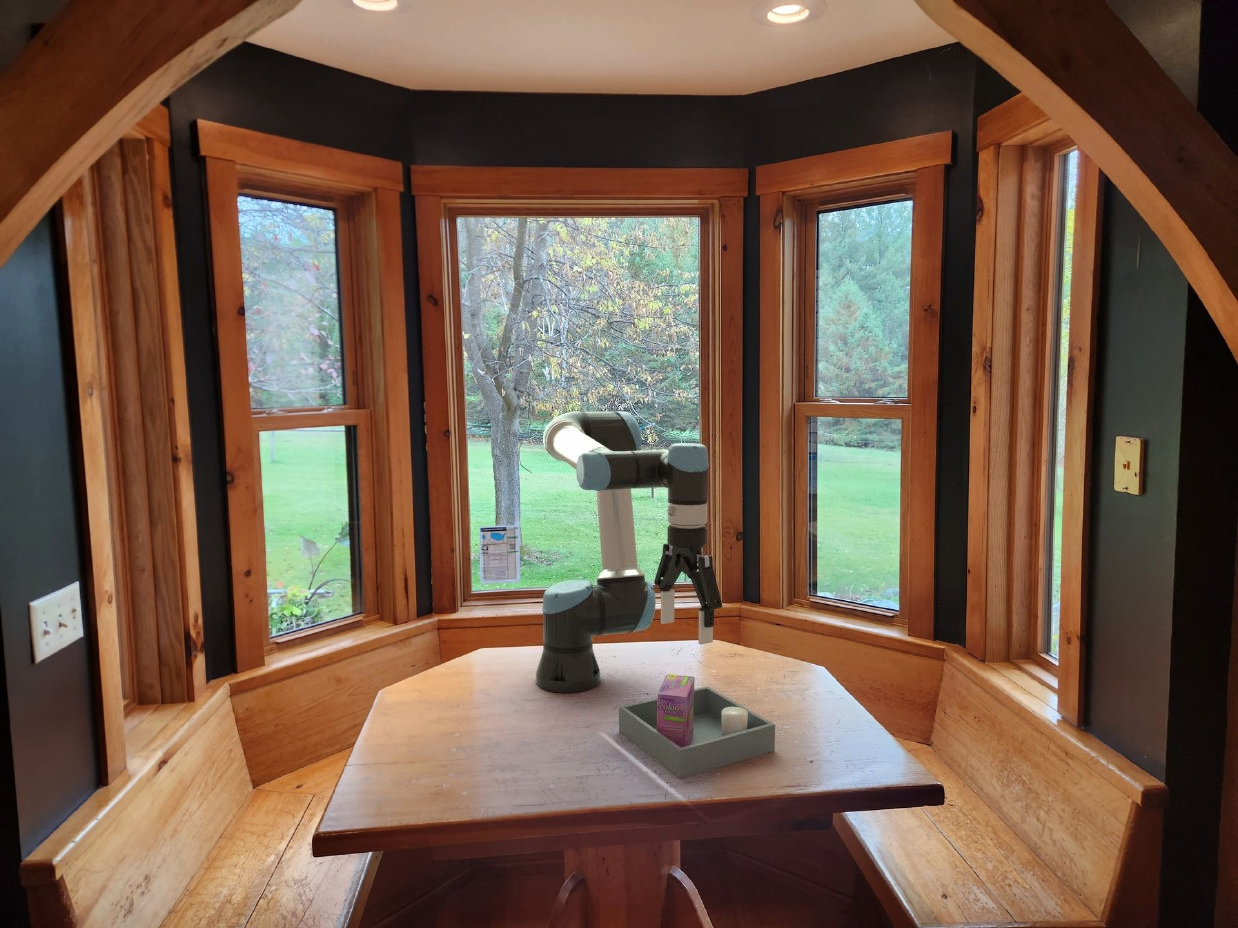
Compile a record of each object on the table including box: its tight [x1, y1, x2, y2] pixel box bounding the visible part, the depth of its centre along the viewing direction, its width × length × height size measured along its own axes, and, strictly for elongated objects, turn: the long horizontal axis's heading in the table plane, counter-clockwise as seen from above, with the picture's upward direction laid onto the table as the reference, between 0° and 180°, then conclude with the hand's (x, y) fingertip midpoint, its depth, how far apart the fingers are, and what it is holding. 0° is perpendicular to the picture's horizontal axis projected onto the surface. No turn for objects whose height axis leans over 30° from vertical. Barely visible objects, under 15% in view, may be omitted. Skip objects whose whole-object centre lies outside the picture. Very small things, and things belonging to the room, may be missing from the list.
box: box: [656, 673, 695, 748], centre depth 150 cm, size 10×6×12 cm, turn 166°
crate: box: [618, 686, 776, 780], centre depth 151 cm, size 22×22×6 cm
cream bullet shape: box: [721, 707, 748, 737], centre depth 151 cm, size 5×5×6 cm
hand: (685, 632), depth 151 cm, fingers open, 13 cm apart
